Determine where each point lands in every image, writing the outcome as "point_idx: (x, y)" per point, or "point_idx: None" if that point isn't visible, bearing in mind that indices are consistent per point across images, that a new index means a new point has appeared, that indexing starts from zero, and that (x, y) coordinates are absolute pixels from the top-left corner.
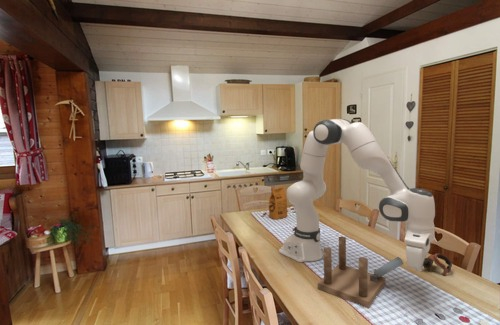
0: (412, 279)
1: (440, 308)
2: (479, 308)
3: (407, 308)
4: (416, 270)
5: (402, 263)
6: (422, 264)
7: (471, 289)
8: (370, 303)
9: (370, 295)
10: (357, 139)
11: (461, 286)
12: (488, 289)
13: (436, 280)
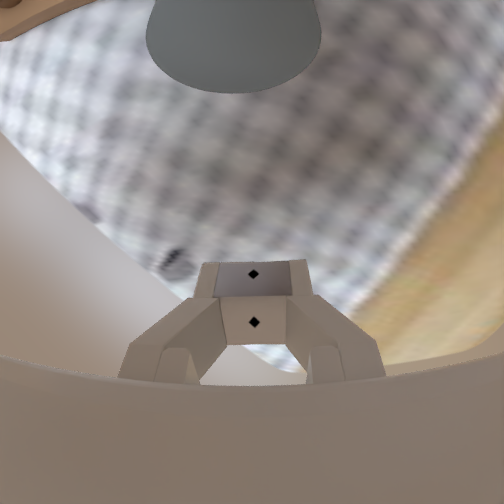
0: (450, 102)
1: (236, 260)
2: None
3: (120, 150)
4: (203, 268)
5: (235, 85)
6: (290, 346)
7: (450, 314)
8: (19, 31)
9: (29, 7)
10: None
11: (462, 289)
12: (461, 341)
13: (483, 209)
